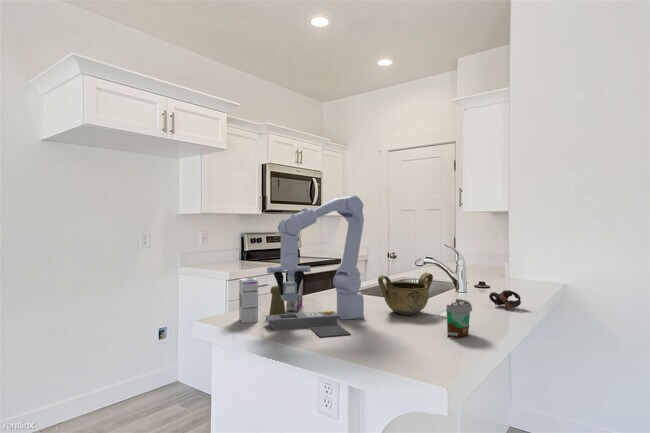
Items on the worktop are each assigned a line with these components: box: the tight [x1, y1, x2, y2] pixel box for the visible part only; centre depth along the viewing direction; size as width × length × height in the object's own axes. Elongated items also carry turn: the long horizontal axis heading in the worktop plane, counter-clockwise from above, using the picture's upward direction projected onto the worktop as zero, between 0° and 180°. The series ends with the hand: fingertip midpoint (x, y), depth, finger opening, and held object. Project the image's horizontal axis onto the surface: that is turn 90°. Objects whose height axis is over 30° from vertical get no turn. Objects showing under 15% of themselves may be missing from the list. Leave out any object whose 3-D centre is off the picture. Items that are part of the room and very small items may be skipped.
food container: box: [445, 298, 473, 339], centre depth 121 cm, size 12×6×10 cm, turn 148°
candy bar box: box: [285, 270, 304, 313], centre depth 155 cm, size 11×5×16 cm, turn 175°
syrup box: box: [238, 277, 259, 324], centre depth 136 cm, size 6×6×14 cm
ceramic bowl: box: [377, 272, 434, 316], centre depth 149 cm, size 22×17×15 cm
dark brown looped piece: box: [488, 289, 522, 311], centre depth 160 cm, size 12×10×8 cm
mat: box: [310, 325, 352, 339], centre depth 123 cm, size 10×10×1 cm
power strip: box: [265, 310, 341, 330], centre depth 132 cm, size 24×7×4 cm, turn 108°
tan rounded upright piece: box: [268, 285, 286, 315], centre depth 143 cm, size 6×6×11 cm
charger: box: [281, 281, 297, 302], centre depth 130 cm, size 4×5×6 cm
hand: (288, 294), depth 130 cm, fingers closed on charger, 4 cm apart
